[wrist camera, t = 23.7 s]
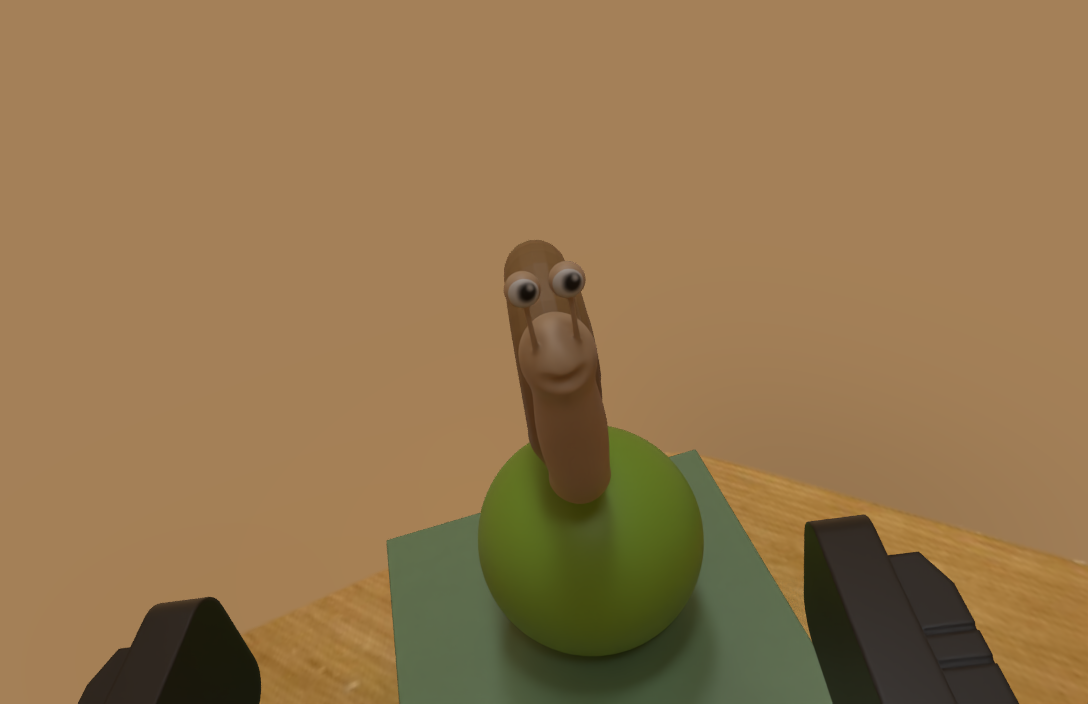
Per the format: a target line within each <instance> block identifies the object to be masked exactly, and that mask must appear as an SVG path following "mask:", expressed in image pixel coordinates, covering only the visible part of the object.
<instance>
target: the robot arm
mask: <svg viewBox="0 0 1088 704" xmlns="http://www.w3.org/2000/svg"><path fill="white" fill-rule="evenodd" d="M804 604H805V611H806V617H807V623H808V627H809V632H810V636H811V639H812V643H813V646H814V649H815V652H816V655H817V658H818V661H819V664H820V667H821V670H822V673H823V676H824V679H825V682H826V685H827V688H828V691H829V694H830V697H831V700H832V703H833V704H1019V703H1018V701H1017V699H1016V697H1015V695H1014V693H1013V692H1012V690H1011V688H1010V686H1009V684H1008V682H1007V680H1006V679H1005V677H1004V675H1003V673H1002V671H1001V669H1000V668H999V666H998V664H997V663H996V664H995V662H994V660H993V655H992V653H991V651H990V649H989V647H988V645H987V643H986V642H985V640H984V638H983V636H982V634H981V632H980V630H977V629H976V626H975V621H974V619H973V618H972V616H971V614H970V612H969V610H968V608H967V606H966V605H965V603H964V601H963V599H962V597H961V595H960V593H959V592H958V590H957V588H956V586H955V584H954V583H953V582H952V581H951V580H950V579H949V578H948V577H946V576H945V575H944V574H943V573H942V572H941V571H940V570H939V569H937V568H936V567H935V566H934V565H933V564H932V563H931V562H930V561H928V560H927V559H926V558H925V557H924V556H923V555H922V554H921V553H919V552H912V553H904V554H896V555H887V553H886V551H885V548H884V546H883V544H882V542H881V540H880V538H879V536H878V534H877V531H876V529H875V527H874V525H873V523H872V522H871V520H870V519H869V518H868V517H867V516H866V515H857V516H849V517H842V518H834V519H826V520H818V521H811V522H807V523H806V524H805V532H804ZM260 695H261V677H260V671H259V667H258V664H257V661H256V660H255V658H254V656H253V654H252V653H251V651H250V650H249V648H248V646H247V645H246V643H245V642H244V640H243V638H242V637H241V635H240V633H239V632H238V630H237V629H236V627H235V625H234V624H233V622H232V621H231V619H230V617H229V616H228V614H227V613H226V611H225V609H224V608H223V606H222V605H221V604H220V602H219V601H218V600H217V599H215V598H213V597H205V598H198V599H190V600H182V601H175V602H168V603H160V604H157V605H155V606H153V607H152V608H151V609H150V610H149V612H148V613H147V615H146V616H145V618H144V620H143V622H142V624H141V626H140V628H139V630H138V632H137V635H136V637H135V639H134V641H133V643H132V645H131V647H130V648H122V649H118V651H117V652H116V653H115V654H114V655H113V656H112V657H111V658H110V660H109V661H108V662H107V663H106V664H105V665H104V667H103V668H102V669H101V670H100V671H99V672H98V673H97V675H96V676H95V677H94V678H93V679H92V680H91V681H90V682H89V684H88V685H87V686H86V688H85V690H84V692H83V694H82V696H81V698H80V700H79V702H78V704H259V702H260Z"/></svg>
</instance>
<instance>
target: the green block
mask: <svg viewBox="0 0 1088 704" xmlns="http://www.w3.org/2000/svg"><path fill="white" fill-rule="evenodd" d="M669 458H670V459H671V460H672V462H673V463H674V464H675V465H676V466H677V467H678V469H679V470H680V471H681V473H682V474H683V475H684V477H685V479H686V480H687V482H688V484H689V485H690V487H691V489H692V491H693V493H694V496H695V498H696V501H697V504H698V507H699V510H700V514H701V519H702V524H703V533H704V551H703V560H702V565H701V570H700V574H699V577H698V580H697V583H696V586H695V588H694V590H693V592H692V595H691V596H690V598H689V600H688V602H687V603H686V605H685V607H684V608H683V609H682V611H681V612H680V614H679V615H678V616H677V617H676V618H675V619H674V621H673V622H672V623H671V624H670V625H669V626H668V627H667V628H665V629H664V630H663V631H662V632H661V633H659V634H658V635H657V636H655V637H654V638H652V639H651V640H649V641H647V642H646V643H644V644H642V645H640V646H638V647H636V648H633V649H630V650H628V651H625V652H621V653H617V654H612V655H606V656H579V655H572V654H567V653H563V652H560V651H557V650H554V649H551V648H549V647H547V646H544V645H542V644H540V643H538V642H537V641H535V640H533V639H532V638H530V637H529V636H527V635H526V634H525V633H523V632H522V631H521V630H520V629H518V628H517V627H516V626H515V625H514V624H513V623H512V622H511V621H510V620H509V619H508V618H507V616H506V615H505V614H504V613H503V612H502V610H501V609H500V608H499V606H498V605H497V603H496V601H495V600H494V598H493V596H492V594H491V592H490V590H489V588H488V586H487V584H486V581H485V578H484V575H483V572H482V568H481V564H480V559H479V552H478V526H479V519H480V514H481V513H478V514H475V515H471V516H468V517H465V518H461V519H458V520H454V521H451V522H447V523H444V524H441V525H438V526H434V527H431V528H428V529H424V530H420V531H417V532H414V533H410V534H407V535H404V536H400V537H396V538H393V539H390V540H387V554H388V567H389V579H390V592H391V604H392V617H393V630H394V642H395V655H396V667H397V680H398V692H399V704H833V703H832V700H831V697H830V694H829V691H828V688H827V685H826V682H825V679H824V676H823V673H822V670H821V667H820V664H819V661H818V658H817V655H816V652H815V649H814V646H813V643H812V642H811V640H810V638H809V637H808V635H807V633H806V632H805V630H804V628H803V627H802V625H801V623H800V622H799V620H798V618H797V617H796V615H795V613H794V612H793V610H792V608H791V607H790V605H789V603H788V602H787V600H786V598H785V597H784V595H783V593H782V592H781V590H780V588H779V587H778V585H777V583H776V582H775V580H774V579H773V577H772V575H771V574H770V572H769V570H768V569H767V567H766V565H765V564H764V562H763V560H762V559H761V557H760V555H759V554H758V552H757V550H756V549H755V547H754V545H753V544H752V542H751V540H750V539H749V537H748V535H747V534H746V532H745V530H744V529H743V527H742V525H741V524H740V522H739V520H738V519H737V517H736V516H735V514H734V512H733V511H732V509H731V507H730V506H729V504H728V502H727V501H726V499H725V497H724V496H723V494H722V492H721V491H720V489H719V487H718V486H717V484H716V482H715V481H714V479H713V477H712V476H711V474H710V472H709V471H708V469H707V467H706V466H705V464H704V462H703V461H702V459H701V457H700V456H699V454H698V453H697V451H696V450H692V451H688V452H685V453H681V454H678V455H675V456H671V457H669Z"/></svg>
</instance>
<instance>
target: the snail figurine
mask: <svg viewBox="0 0 1088 704" xmlns="http://www.w3.org/2000/svg"><path fill="white" fill-rule="evenodd" d="M504 282H505V285H504V294H505V297H506V300H507V308H508V315H509V321H510V328H511V334H512V340H513V346H514V352H515V358H516V363H517V370H518V375H519V381H520V387H521V393H522V398H523V404H524V409H525V415H526V421H527V427H528V436H529V441H530V442H529V443H528V444H527V445H525V446H524V447H522V448H521V449H520V450H519V451H517V452H516V453H515V454H514V455H513V456H512V457H511V458H510V459H509V460H508V461H507V462H506V464H505V465H504V466H503V467H502V468H501V470H500V471H499V472H498V474H497V476H496V477H495V479H494V480H493V482H492V484H491V486H490V488H489V490H488V492H487V495H486V497H485V500H484V503H483V506H482V510H481V514H480V519H479V526H478V552H479V559H480V564H481V568H482V572H483V575H484V578H485V581H486V584H487V586H488V588H489V590H490V592H491V594H492V596H493V598H494V600H495V601H496V603H497V605H498V606H499V608H500V609H501V610H502V612H503V613H504V614H505V615H506V616H507V618H508V619H509V620H510V621H511V622H512V623H513V624H514V625H515V626H516V627H517V628H518V629H520V630H521V631H522V632H523V633H525V634H526V635H527V636H529V637H530V638H532V639H533V640H535V641H537V642H538V643H540V644H542V645H544V646H547V647H549V648H551V649H554V650H557V651H560V652H563V653H567V654H572V655H579V656H606V655H612V654H617V653H621V652H625V651H628V650H630V649H633V648H636V647H638V646H640V645H642V644H644V643H646V642H647V641H649V640H651V639H652V638H654V637H655V636H657V635H658V634H659V633H661V632H662V631H663V630H664V629H665V628H667V627H668V626H669V625H670V624H671V623H672V622H673V621H674V619H675V618H676V617H677V616H678V615H679V614H680V612H681V611H682V609H683V608H684V607H685V605H686V603H687V602H688V600H689V598H690V596H691V595H692V592H693V590H694V588H695V586H696V583H697V580H698V577H699V574H700V570H701V565H702V560H703V551H704V533H703V524H702V519H701V514H700V510H699V507H698V504H697V501H696V498H695V496H694V493H693V491H692V489H691V487H690V485H689V484H688V482H687V480H686V479H685V477H684V475H683V474H682V473H681V471H680V470H679V469H678V467H677V466H676V465H675V464H674V463H673V462H672V460H671V459H670V458H669V457H668V456H667V455H665V454H664V453H663V452H662V451H661V450H660V449H658V448H657V447H656V446H654V445H653V444H651V443H649V442H648V441H646V440H645V439H643V438H641V437H639V436H637V435H635V434H632V433H630V432H628V431H625V430H622V429H618V428H614V427H609V426H607V419H606V414H605V410H604V406H603V403H602V389H601V373H600V365H599V360H598V354H597V348H596V344H595V339H594V335H593V331H592V327H591V323H590V320H589V317H588V314H587V311H586V308H585V304H584V301H583V297H582V294H581V291H582V289H583V288H584V285H585V274H584V272H583V270H582V268H581V267H580V266H579V265H578V264H576V263H574V262H571V261H565V260H564V258H563V256H562V254H561V253H560V252H559V251H558V250H557V249H556V248H555V247H554V246H553V245H551V244H549V243H547V242H544V241H541V240H530V241H526V242H524V243H522V244H519V245H518V246H517V247H515V248H514V250H513V251H512V252H511V253H510V254H509V256H508V258H507V261H506V264H505V268H504Z"/></svg>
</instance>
